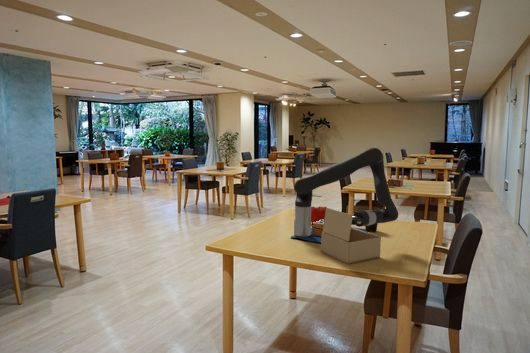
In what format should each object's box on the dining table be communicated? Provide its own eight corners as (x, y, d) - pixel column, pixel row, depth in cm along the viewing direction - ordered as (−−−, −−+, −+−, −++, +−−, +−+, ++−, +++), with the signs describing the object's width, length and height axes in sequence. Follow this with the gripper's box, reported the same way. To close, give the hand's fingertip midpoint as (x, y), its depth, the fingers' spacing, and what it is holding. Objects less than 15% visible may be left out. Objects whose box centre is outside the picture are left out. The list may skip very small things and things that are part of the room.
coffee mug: (378, 232, 233) (379, 216, 231) (364, 232, 234) (364, 215, 233) (377, 228, 244) (378, 212, 243) (363, 227, 246) (363, 211, 244)
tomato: (311, 227, 245) (312, 208, 243) (305, 221, 259) (306, 204, 257) (332, 226, 247) (332, 208, 245) (325, 221, 261) (325, 204, 259)
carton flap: (323, 231, 194) (327, 207, 193) (349, 241, 178) (352, 215, 177) (322, 231, 194) (326, 207, 193) (348, 241, 178) (351, 215, 177)
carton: (351, 246, 206) (352, 227, 205) (381, 257, 188) (382, 237, 187) (320, 251, 196) (320, 232, 195) (348, 264, 178) (349, 243, 177)
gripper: (355, 208, 200) (329, 211, 191) (374, 213, 188) (347, 216, 180) (354, 222, 201) (328, 226, 192) (374, 228, 189) (347, 232, 180)
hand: (337, 221), depth 186 cm, fingers closed
